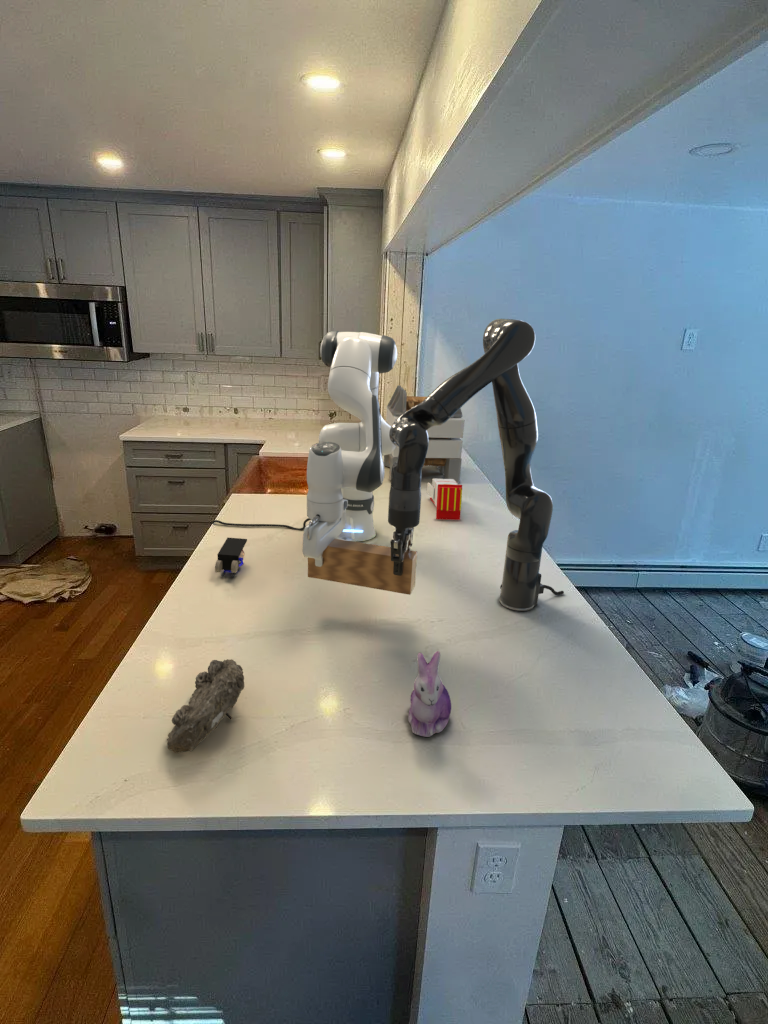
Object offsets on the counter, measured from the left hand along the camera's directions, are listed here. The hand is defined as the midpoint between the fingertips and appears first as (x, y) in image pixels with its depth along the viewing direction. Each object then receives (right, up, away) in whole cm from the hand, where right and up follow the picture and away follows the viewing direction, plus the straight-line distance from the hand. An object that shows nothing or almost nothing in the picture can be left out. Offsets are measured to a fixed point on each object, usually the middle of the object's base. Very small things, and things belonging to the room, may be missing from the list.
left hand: (324, 560), depth 144 cm
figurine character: (-30, -5, +23) cm, 38 cm away
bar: (+9, -5, -1) cm, 11 cm away
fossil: (-18, -27, -36) cm, 48 cm away
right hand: (+19, -2, -5) cm, 20 cm away
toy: (+39, +14, +83) cm, 93 cm away
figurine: (+24, -28, -35) cm, 51 cm away
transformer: (+32, +31, +131) cm, 138 cm away
